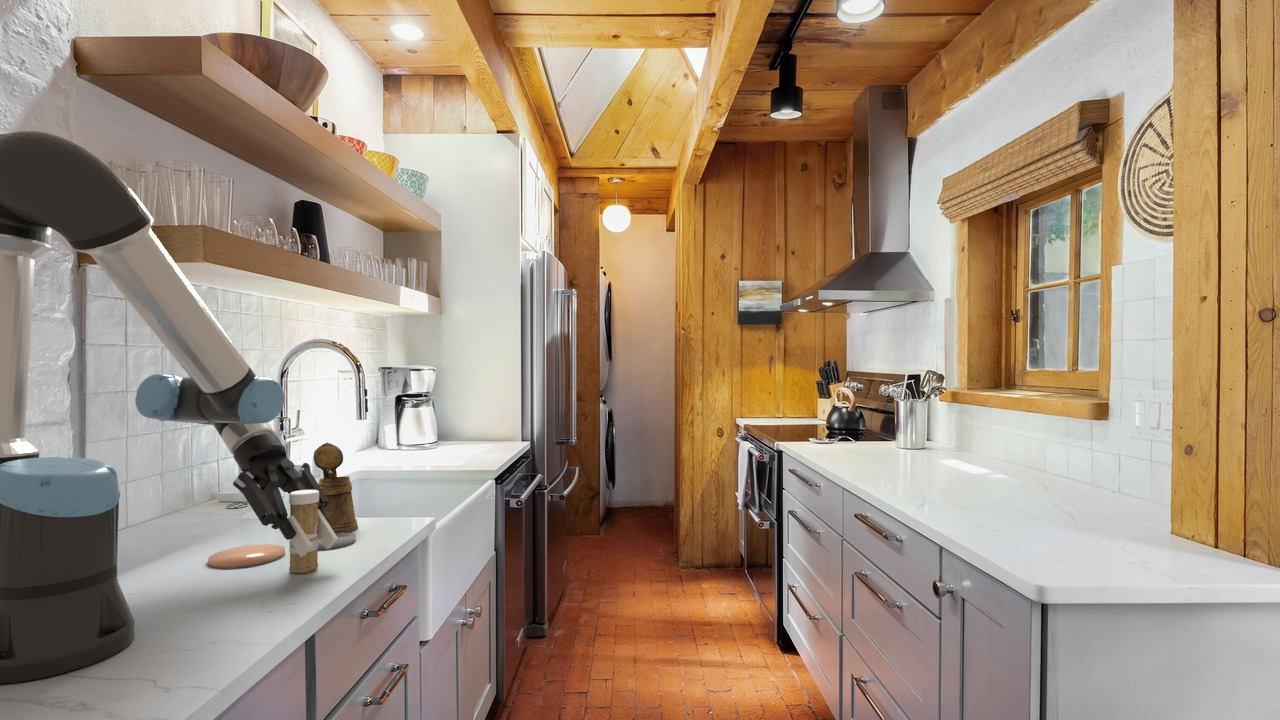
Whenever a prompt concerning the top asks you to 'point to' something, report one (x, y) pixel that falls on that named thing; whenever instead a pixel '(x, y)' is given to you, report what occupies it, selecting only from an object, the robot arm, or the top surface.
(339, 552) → the top surface
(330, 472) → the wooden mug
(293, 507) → the sprinkles bottle
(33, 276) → the robot arm
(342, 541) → the slate coaster
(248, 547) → the terracotta coaster
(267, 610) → the top surface
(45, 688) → the top surface
